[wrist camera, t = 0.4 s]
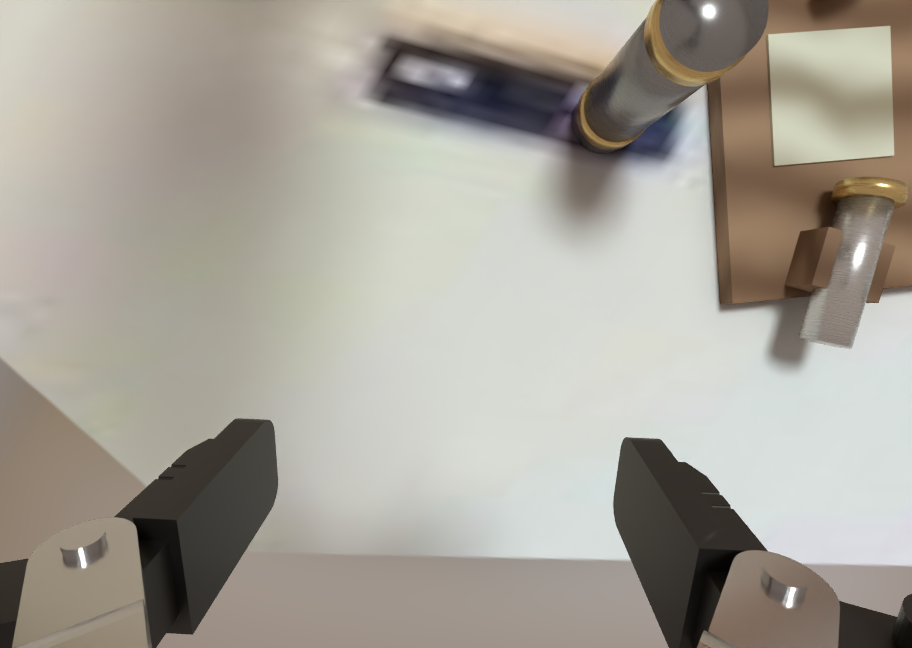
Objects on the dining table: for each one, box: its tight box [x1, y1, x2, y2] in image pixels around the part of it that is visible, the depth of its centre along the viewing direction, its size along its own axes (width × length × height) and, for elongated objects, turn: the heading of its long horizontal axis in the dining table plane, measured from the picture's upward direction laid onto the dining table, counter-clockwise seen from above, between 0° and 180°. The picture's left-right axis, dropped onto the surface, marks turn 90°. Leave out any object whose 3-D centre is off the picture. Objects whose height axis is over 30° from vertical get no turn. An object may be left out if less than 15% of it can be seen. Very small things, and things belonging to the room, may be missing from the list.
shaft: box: [799, 177, 910, 349], centre depth 33 cm, size 11×4×4 cm, turn 166°
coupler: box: [572, 0, 769, 154], centre depth 28 cm, size 5×5×14 cm
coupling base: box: [708, 0, 912, 304], centre depth 34 cm, size 30×20×4 cm
